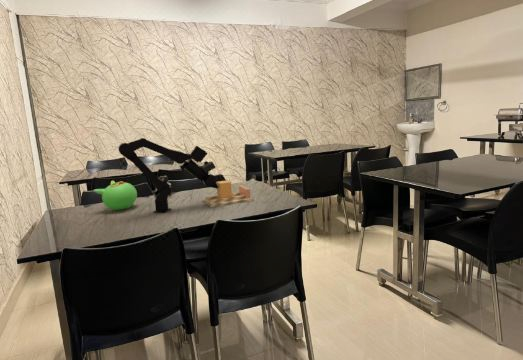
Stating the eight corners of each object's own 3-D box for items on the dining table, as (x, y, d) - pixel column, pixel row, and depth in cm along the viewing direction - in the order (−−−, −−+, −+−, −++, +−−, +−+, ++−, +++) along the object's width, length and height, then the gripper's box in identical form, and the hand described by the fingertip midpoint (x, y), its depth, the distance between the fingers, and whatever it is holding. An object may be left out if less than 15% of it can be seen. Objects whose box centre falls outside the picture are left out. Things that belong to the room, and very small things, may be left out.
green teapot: (125, 213, 179) (121, 184, 177) (95, 213, 183) (91, 185, 180) (144, 204, 197) (141, 177, 194) (116, 204, 200) (112, 177, 197)
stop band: (246, 198, 190) (246, 189, 189) (239, 194, 201) (238, 185, 200) (250, 198, 191) (249, 189, 190) (242, 194, 202) (241, 185, 201)
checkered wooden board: (211, 207, 182) (211, 201, 182) (204, 201, 195) (204, 196, 195) (252, 200, 191) (252, 195, 190) (243, 195, 203) (242, 190, 203)
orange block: (220, 200, 188) (219, 183, 186) (217, 198, 194) (216, 181, 192) (232, 199, 190) (230, 182, 189) (228, 196, 196) (227, 180, 194)
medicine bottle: (169, 198, 208) (166, 177, 205) (156, 198, 208) (154, 178, 205) (172, 195, 215) (170, 175, 212) (160, 195, 215) (158, 175, 212)
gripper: (209, 158, 176) (233, 178, 182) (200, 155, 193) (222, 173, 199) (195, 177, 174) (219, 196, 181) (187, 171, 191) (209, 189, 198)
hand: (217, 187), depth 190 cm, fingers closed, pressing on orange block
